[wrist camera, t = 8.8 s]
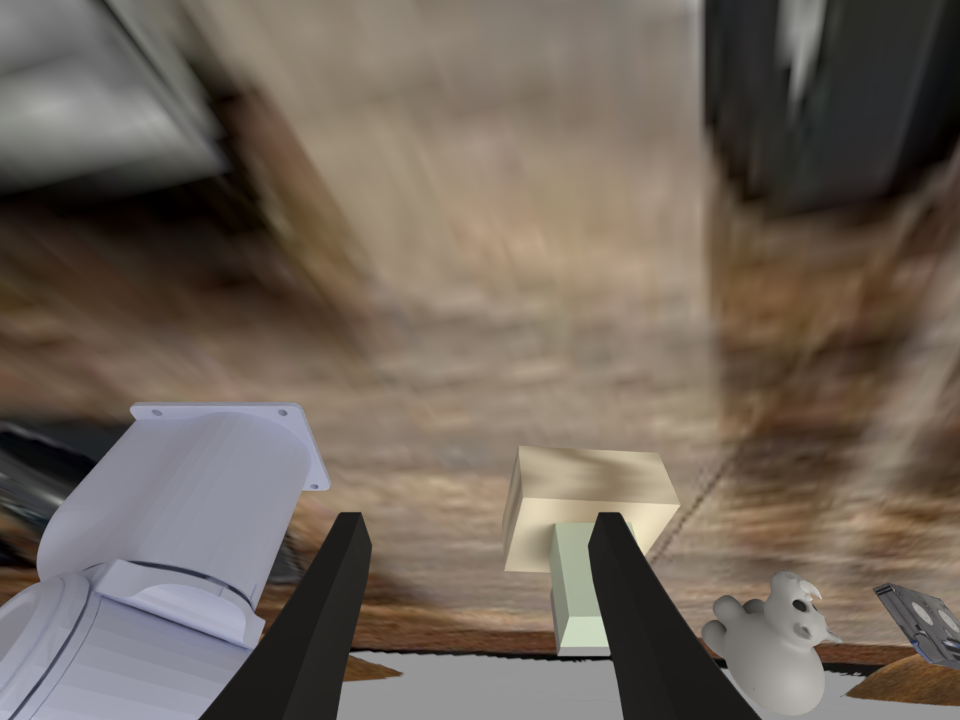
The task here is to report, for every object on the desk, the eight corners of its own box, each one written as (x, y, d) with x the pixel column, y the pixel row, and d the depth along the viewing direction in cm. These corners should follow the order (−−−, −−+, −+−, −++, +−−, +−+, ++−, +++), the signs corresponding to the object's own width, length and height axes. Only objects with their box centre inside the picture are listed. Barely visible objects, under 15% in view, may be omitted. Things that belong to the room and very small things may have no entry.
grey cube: (549, 594, 39) (557, 655, 35) (555, 573, 37) (564, 637, 33) (596, 594, 39) (609, 655, 35) (605, 573, 37) (620, 637, 33)
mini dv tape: (871, 588, 39) (925, 664, 34) (887, 581, 38) (945, 659, 33) (923, 603, 41) (981, 677, 36) (939, 598, 40) (1001, 673, 35)
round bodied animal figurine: (799, 548, 39) (897, 630, 31) (745, 642, 42) (821, 739, 34) (737, 538, 38) (821, 622, 30) (686, 636, 41) (750, 736, 33)
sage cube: (548, 558, 27) (560, 647, 23) (555, 523, 24) (569, 616, 20) (616, 558, 27) (639, 646, 23) (631, 522, 24) (659, 616, 20)
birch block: (501, 517, 31) (504, 571, 28) (518, 441, 26) (523, 497, 23) (616, 522, 32) (630, 575, 29) (656, 448, 26) (680, 504, 23)
